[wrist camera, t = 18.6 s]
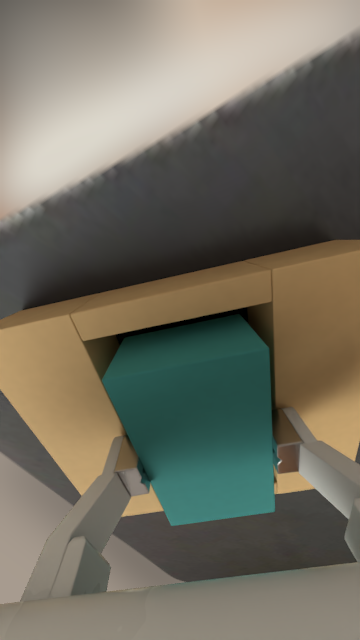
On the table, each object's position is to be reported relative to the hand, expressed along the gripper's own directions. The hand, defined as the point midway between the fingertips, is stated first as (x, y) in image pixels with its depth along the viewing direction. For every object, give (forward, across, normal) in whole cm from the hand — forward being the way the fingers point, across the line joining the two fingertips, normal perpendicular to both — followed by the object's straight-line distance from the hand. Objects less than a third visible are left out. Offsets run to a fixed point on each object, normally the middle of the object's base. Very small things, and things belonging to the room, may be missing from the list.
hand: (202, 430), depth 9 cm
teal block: (+2, 0, 0) cm, 2 cm away
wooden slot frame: (+3, 0, 0) cm, 3 cm away
